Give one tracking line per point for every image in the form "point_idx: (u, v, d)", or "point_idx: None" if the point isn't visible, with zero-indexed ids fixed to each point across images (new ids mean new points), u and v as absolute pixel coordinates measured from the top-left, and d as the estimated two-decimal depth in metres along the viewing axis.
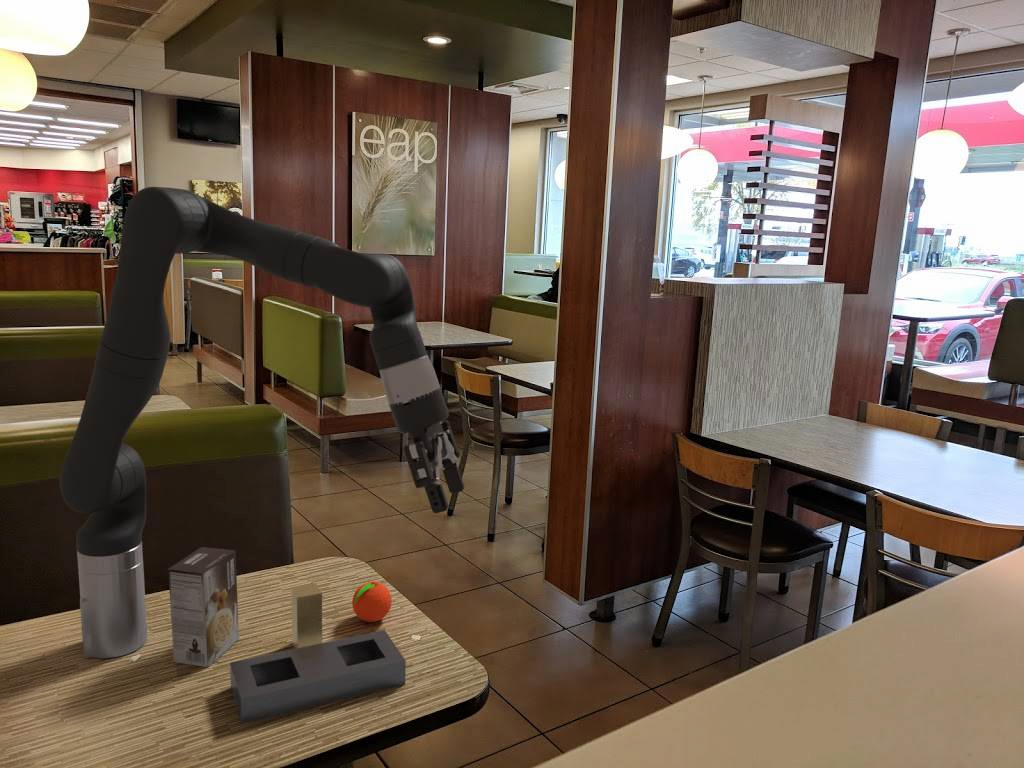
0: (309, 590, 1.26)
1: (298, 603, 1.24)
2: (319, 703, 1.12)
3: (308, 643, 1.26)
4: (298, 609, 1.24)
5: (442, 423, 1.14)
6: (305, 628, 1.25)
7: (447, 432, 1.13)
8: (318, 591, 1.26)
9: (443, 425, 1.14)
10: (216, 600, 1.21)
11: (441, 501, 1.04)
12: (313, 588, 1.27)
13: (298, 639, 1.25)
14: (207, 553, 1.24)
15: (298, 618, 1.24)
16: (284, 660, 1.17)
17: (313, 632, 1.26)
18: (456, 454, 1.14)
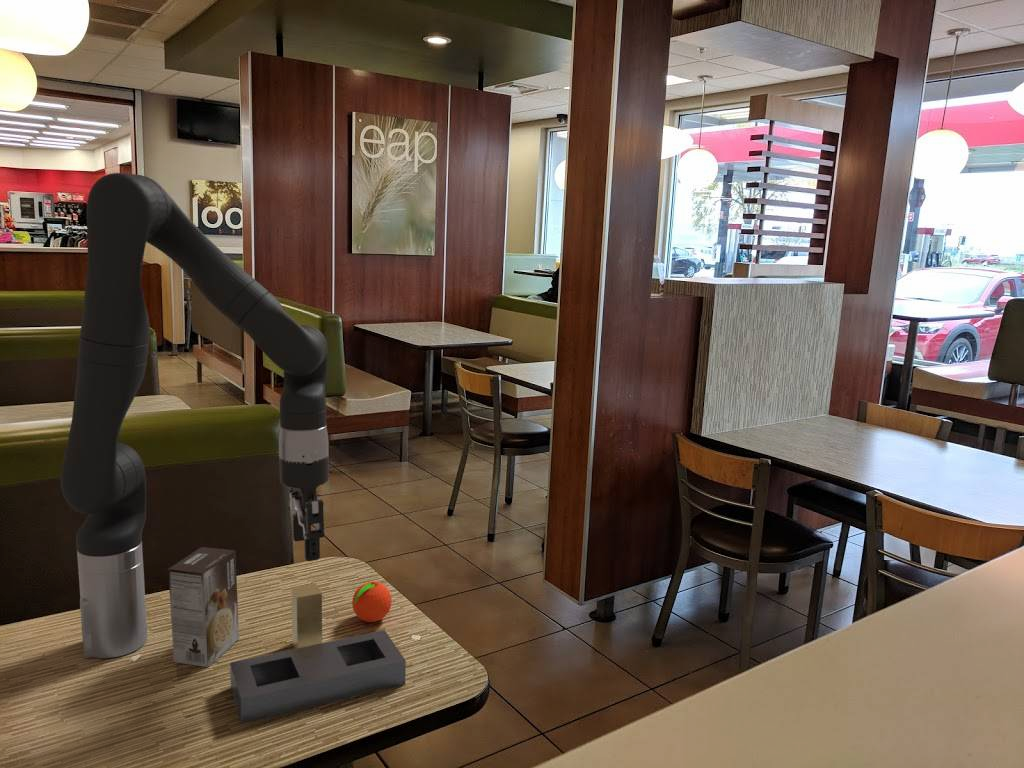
0: (309, 590, 1.26)
1: (298, 603, 1.24)
2: (319, 703, 1.12)
3: (308, 643, 1.26)
4: (298, 609, 1.24)
5: None
6: (305, 628, 1.25)
7: None
8: (318, 591, 1.26)
9: None
10: (216, 600, 1.21)
11: (317, 551, 1.20)
12: (313, 588, 1.27)
13: (298, 639, 1.25)
14: (207, 553, 1.24)
15: (298, 618, 1.24)
16: (284, 660, 1.17)
17: (313, 633, 1.26)
18: None
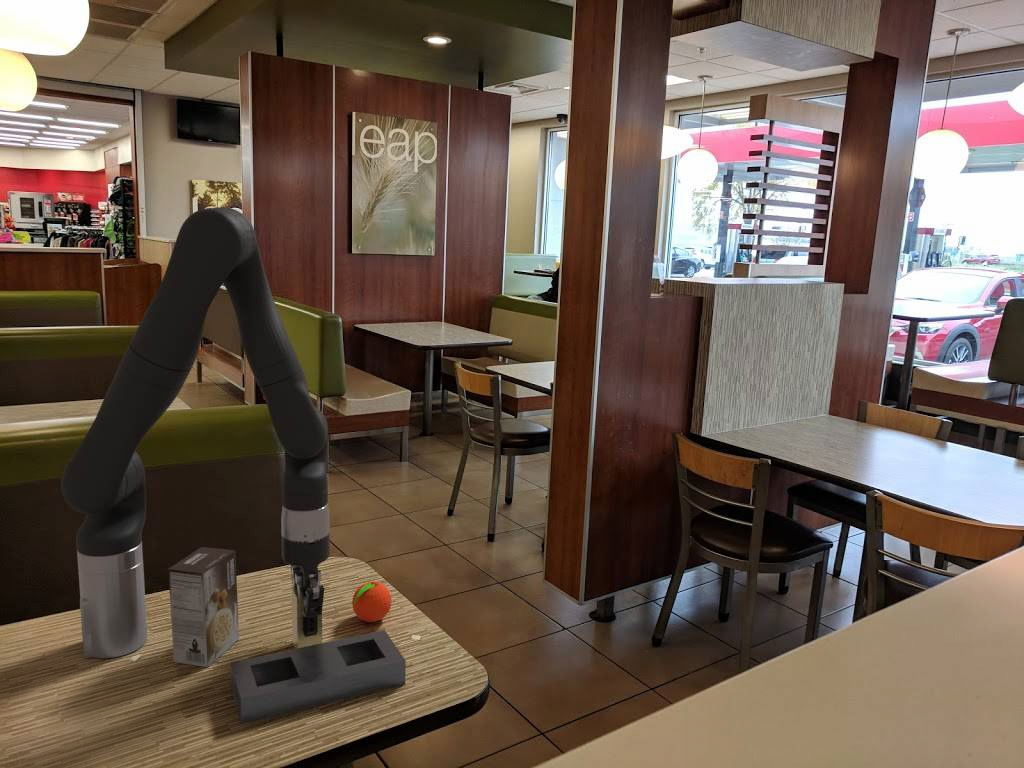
0: None
1: (298, 603, 1.24)
2: (319, 703, 1.12)
3: (308, 643, 1.26)
4: (298, 609, 1.24)
5: None
6: None
7: None
8: None
9: None
10: (216, 600, 1.21)
11: (315, 627, 1.25)
12: None
13: (298, 639, 1.25)
14: (207, 553, 1.24)
15: (298, 618, 1.24)
16: (284, 660, 1.17)
17: None
18: None
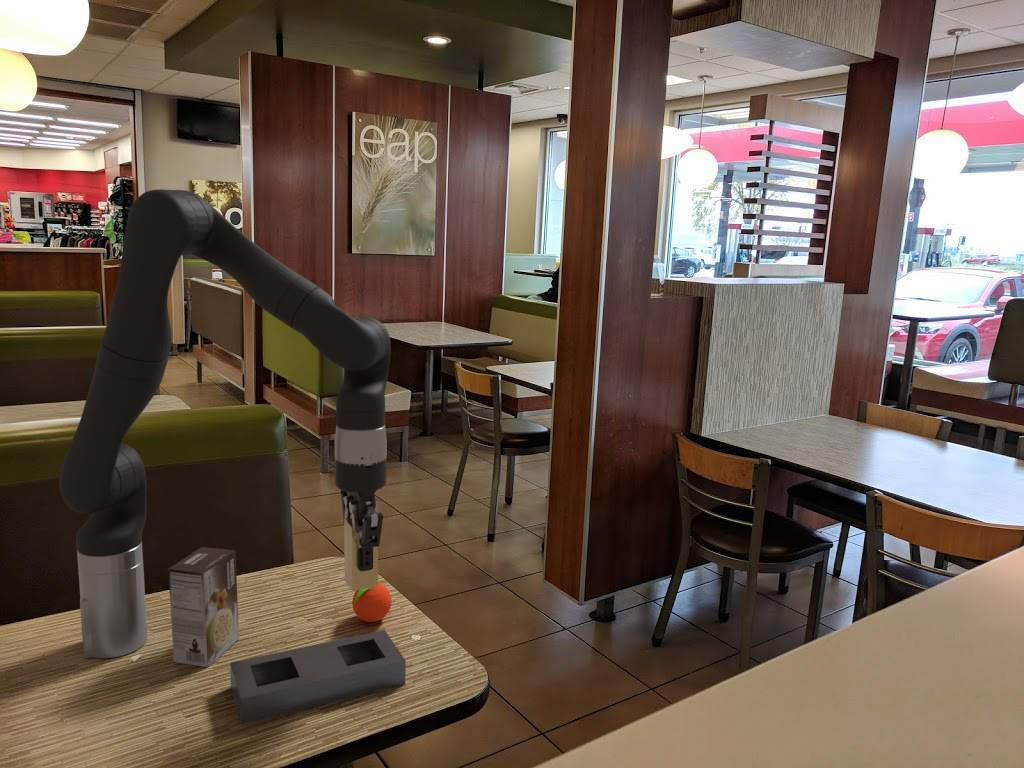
0: None
1: (353, 534, 1.13)
2: (319, 703, 1.12)
3: (364, 579, 1.15)
4: (353, 540, 1.13)
5: None
6: None
7: None
8: None
9: None
10: (216, 600, 1.21)
11: None
12: None
13: (353, 574, 1.14)
14: (207, 553, 1.24)
15: (353, 550, 1.13)
16: (284, 660, 1.17)
17: None
18: None
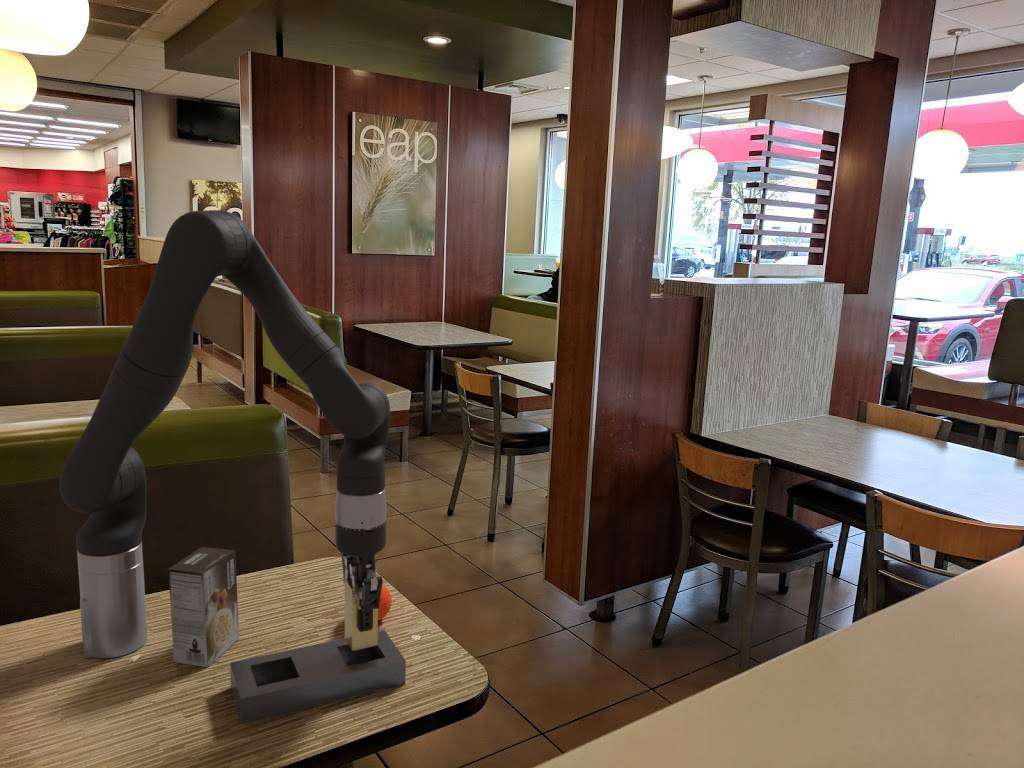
0: None
1: (353, 595, 1.15)
2: (319, 703, 1.12)
3: (363, 639, 1.17)
4: (353, 602, 1.15)
5: None
6: None
7: None
8: None
9: None
10: (216, 600, 1.21)
11: None
12: None
13: (353, 634, 1.16)
14: (207, 553, 1.24)
15: (353, 612, 1.15)
16: (284, 660, 1.17)
17: None
18: None
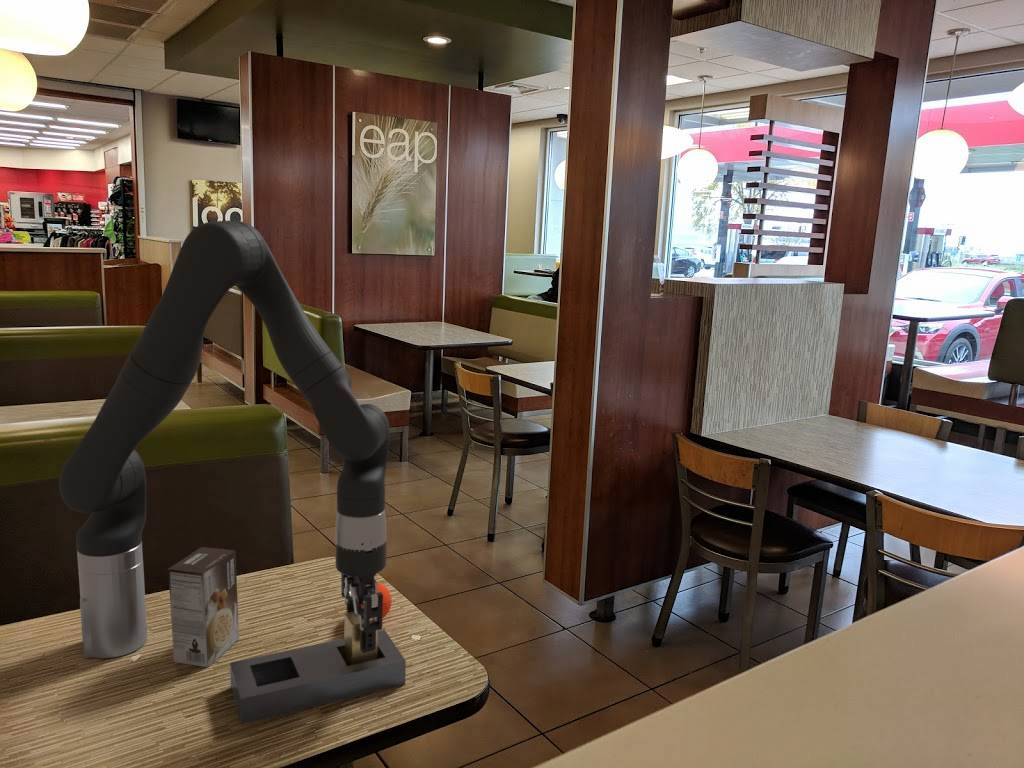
0: None
1: (353, 631, 1.16)
2: (319, 703, 1.12)
3: None
4: (353, 637, 1.16)
5: None
6: (360, 657, 1.17)
7: None
8: None
9: None
10: (216, 600, 1.21)
11: None
12: None
13: None
14: (207, 553, 1.24)
15: (353, 647, 1.16)
16: (284, 660, 1.17)
17: None
18: None
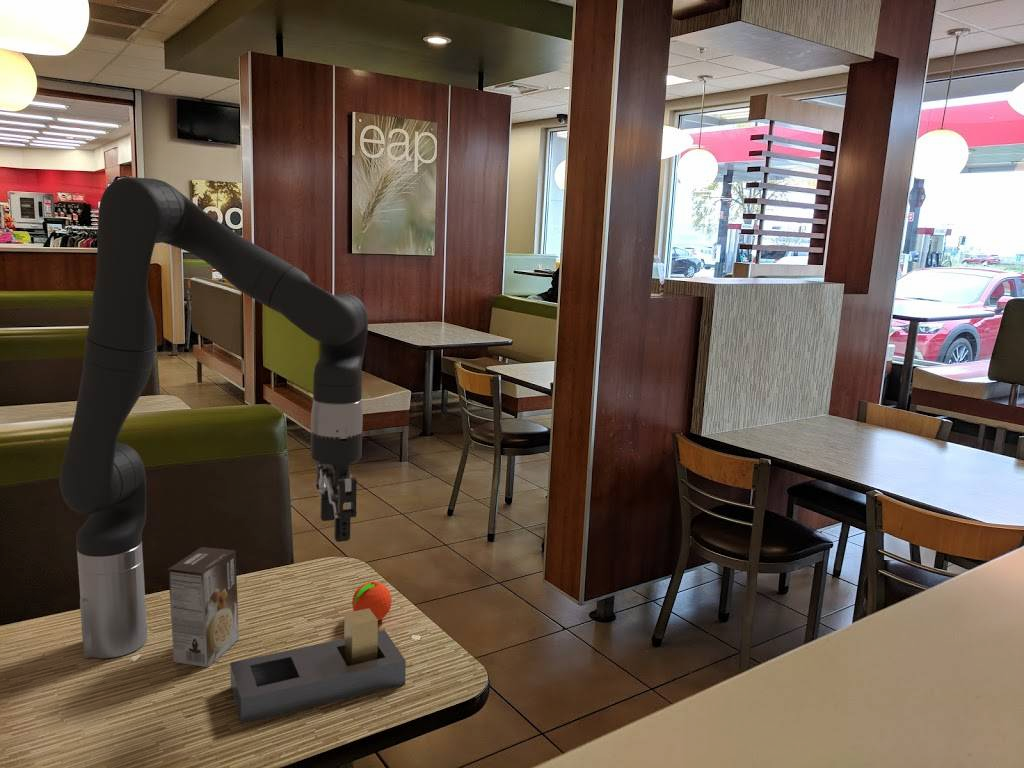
0: (363, 616, 1.18)
1: (353, 631, 1.16)
2: (319, 703, 1.12)
3: None
4: (353, 637, 1.16)
5: None
6: (360, 657, 1.17)
7: None
8: (373, 617, 1.18)
9: None
10: (216, 600, 1.21)
11: None
12: (367, 614, 1.19)
13: None
14: (207, 553, 1.24)
15: (353, 647, 1.16)
16: (284, 660, 1.17)
17: None
18: None
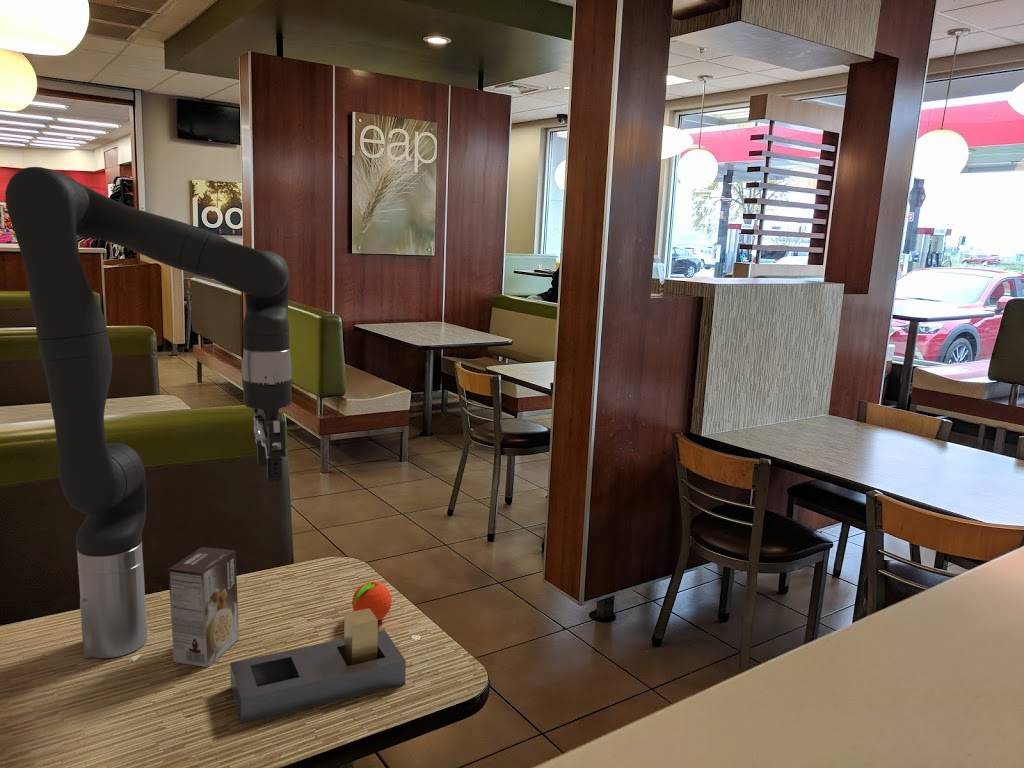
0: (363, 616, 1.18)
1: (353, 631, 1.16)
2: (319, 703, 1.12)
3: None
4: (353, 637, 1.16)
5: None
6: (360, 657, 1.17)
7: None
8: (373, 617, 1.18)
9: None
10: (216, 600, 1.21)
11: (279, 472, 1.23)
12: (367, 614, 1.19)
13: None
14: (207, 553, 1.24)
15: (353, 647, 1.16)
16: (284, 660, 1.17)
17: None
18: None
